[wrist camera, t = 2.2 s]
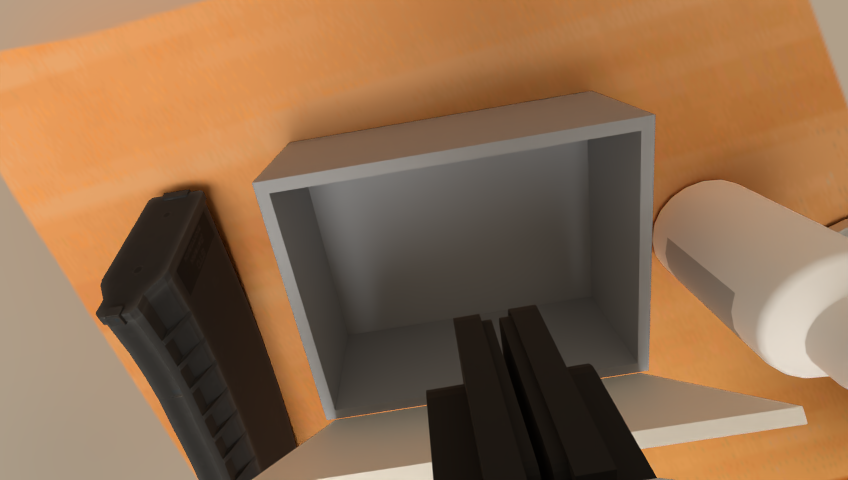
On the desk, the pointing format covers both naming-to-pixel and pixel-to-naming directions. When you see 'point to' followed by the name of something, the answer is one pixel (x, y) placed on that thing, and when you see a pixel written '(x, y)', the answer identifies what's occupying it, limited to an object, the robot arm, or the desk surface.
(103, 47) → the desk surface
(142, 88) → the desk surface
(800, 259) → the spray bottle
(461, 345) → the robot arm
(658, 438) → the carton flap
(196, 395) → the magazine
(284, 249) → the carton
